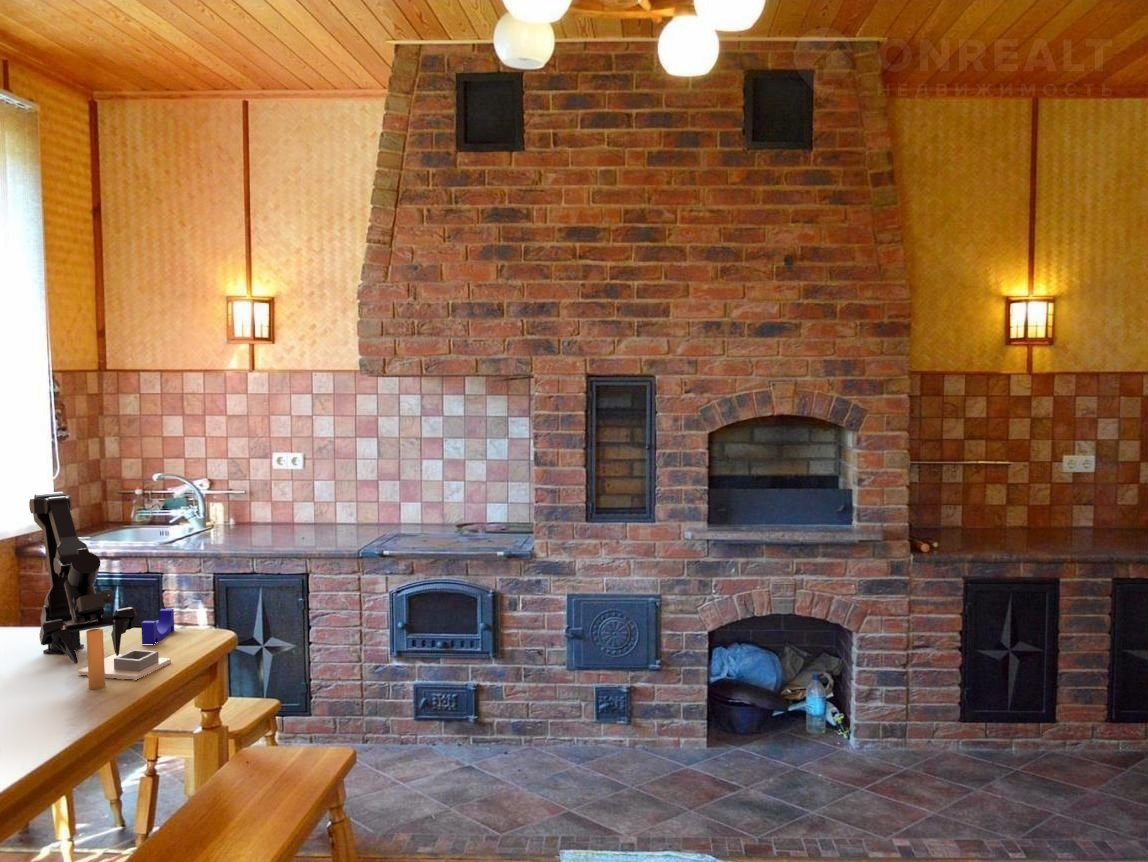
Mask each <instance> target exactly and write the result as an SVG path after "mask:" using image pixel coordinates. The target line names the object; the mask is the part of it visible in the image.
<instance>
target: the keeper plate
mask: <svg viewBox="0 0 1148 862" xmlns="http://www.w3.org/2000/svg"><path fill="white" fill-rule="evenodd" d="M171 663H172V661H171V658H167V657H159V651H158V650H157V651H156V650H155V651H154V650H146V649H145V650H144V649H135V648H134V649H131V650H130V651H127V652H125V653H123V654H121V653H119V655H118V656H116V654H115V653H114V654H112V655H109V656H107V657H104V667H105V679H113V678H117V679H116V680H124V679H134V680H133V681H135V680H137V679H139V678H141V677H143V676H144V677H146V676H148V675H149V674H148V673H150V672H152V671H154V670H156V669H158V670H160V669H162V668H163V666H164V667H166V666H167V665H169V664H171ZM161 667H162V668H161ZM159 668H160V669H159ZM156 671H157V670H156ZM154 672H155V671H154ZM152 673H153V672H152ZM78 674H80V675H79V676H81V675H87V676H86V677H88V666H86V667H83V668H81V669H80V670H78V672H77V675H78ZM147 674H148V675H147ZM150 674H151V673H150ZM145 675H146V676H145ZM144 677H143V678H144ZM141 679H142V678H141ZM139 680H140V679H139ZM137 681H138V680H137Z"/></svg>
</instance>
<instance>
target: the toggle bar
mask: <svg viewBox="0 0 1148 862" xmlns="http://www.w3.org/2000/svg"><path fill="white" fill-rule="evenodd" d="M85 632H86V633H85V634H86V650H87V652H86V654H87V655H86V656H87V667H88V676H87V677H88V689H89V690H99V689H103V688H104V687H106V678H105V667H104V659H105V650H104V649H105V648H104V629H103V628H94V629H88V630H85Z"/></svg>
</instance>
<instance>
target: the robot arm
mask: <svg viewBox="0 0 1148 862" xmlns="http://www.w3.org/2000/svg"><path fill="white" fill-rule="evenodd" d="M72 501H73V500H72V495H67V494H64V491H56V492H55V491H53V492H43V493H35V494H34V497H33V498H30V499H29V503H28V504H29V505H28V506H29V511H30V514H32V516H33V521H34V522H35V524H36V525H38V527H40V529H41V530H42V534H43V540H44V548H45V549H44V550H45V556H46V557H45V559H46V564H47V565H46V566H47V570H48V579H49V590H48V592H47V593H46V596H45V598H44V605H43V606H42V609H41V614H40V624H41V625H40V626H41V627H40V630H39V640H40V645H41V646H47V648H46V649H44V650H42V652H43V653H44V654H54V655H66V656H67V658H68V659H70V660H71V661H72V663H74V664H75V665H77V664H78V655H77V652H76V651H77V650H79V649H81V647H82V648H84V647H85V644H82V643H81V631H88V630H91V629H101V628H104V627H110V626H111V627H112V631H111V635H110V636H111V640H112V647H113V650H114V654H116V656H118V655H119V654H120V650H121V649H120V648H121V641H122V639H121V638H122V635H124V634H125V633H126V632H127V631H130V630H132V629H133V628H134V626H135V624H136V622H137V621H136V620H137V619H138V614H137V613H138V612H137V610H136V608H134V607H132V606H129V607H124V608H118V609H115V611H114V613H113V616H108V617H103V615H105V612H106V611H105V608H106V607H107V606H108V605H112V604H113V603H114V602H115V600H114V594H113V590H112V589H111V588H107V589H106V588H105V589H102V591H100V592H99V593H97V591H96V589H95V583H96V581H97V578H98V574H99V571H100V567H101V558H99V556H98V555H96V554H95V553H92V552H90V550H89V548H88V545H87V543H85V542H83V541H81V540H80V539H79V536H78V534H77V529H76V525H75V523H74V519H73V515H72V512H71V511H73V502H72ZM76 649H77V650H76Z"/></svg>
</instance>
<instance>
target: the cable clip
mask: <svg viewBox="0 0 1148 862" xmlns="http://www.w3.org/2000/svg"><path fill="white" fill-rule="evenodd" d="M174 613H175V612H174V608H161V609H160V610H159V616H158V619H156V620H143V621H142V622H140V623H141V645H142V644H153V645H152V646H155V645H154V644H156V643H157V642H158V643H160V642H161V641H163V639H166V638H167V637H168V636H169V635H170V634H172V633H173V632H174V631H175V614H174ZM159 641H160V642H159ZM155 642H156V643H155ZM158 643H157V644H158ZM157 644H156V645H157Z"/></svg>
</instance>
